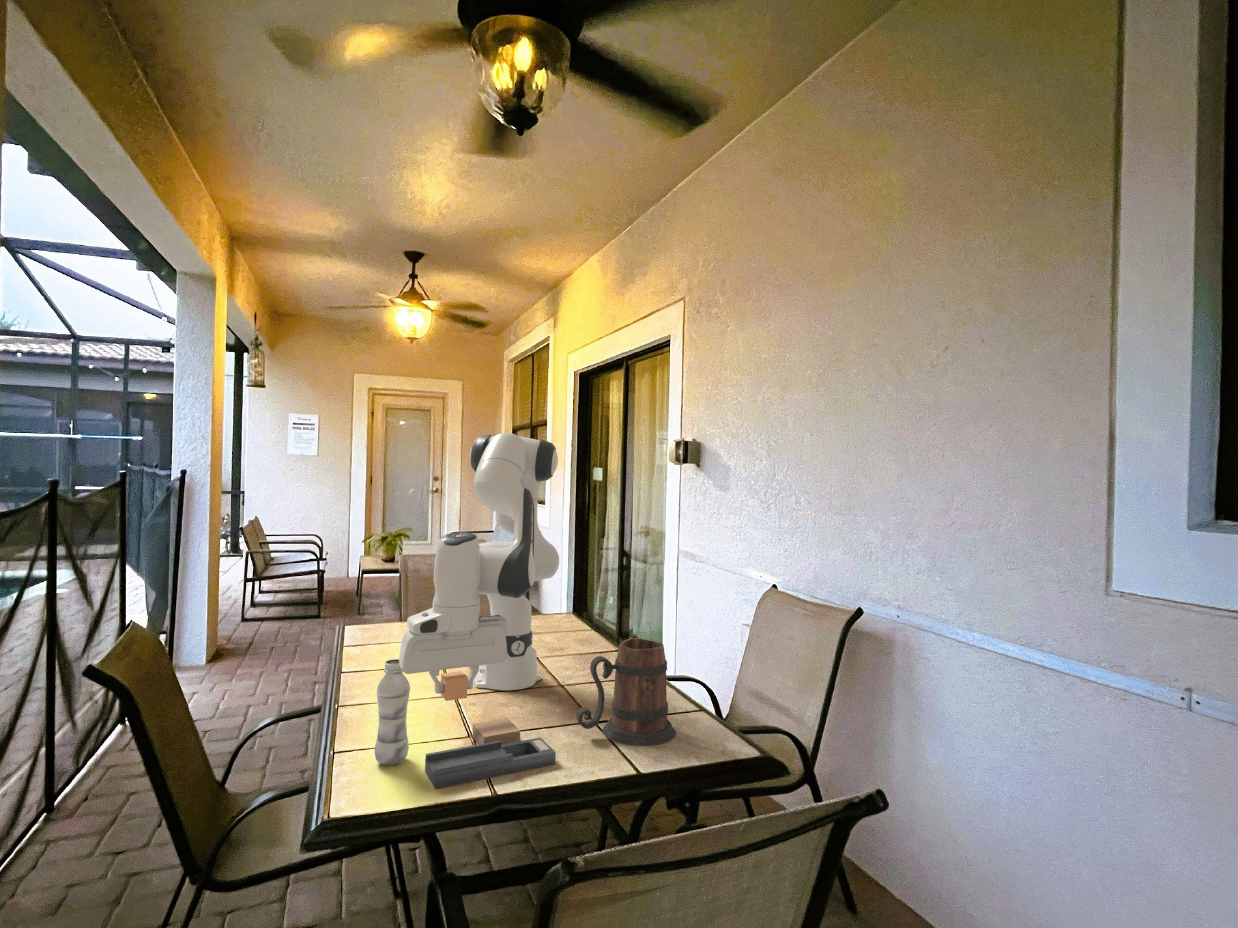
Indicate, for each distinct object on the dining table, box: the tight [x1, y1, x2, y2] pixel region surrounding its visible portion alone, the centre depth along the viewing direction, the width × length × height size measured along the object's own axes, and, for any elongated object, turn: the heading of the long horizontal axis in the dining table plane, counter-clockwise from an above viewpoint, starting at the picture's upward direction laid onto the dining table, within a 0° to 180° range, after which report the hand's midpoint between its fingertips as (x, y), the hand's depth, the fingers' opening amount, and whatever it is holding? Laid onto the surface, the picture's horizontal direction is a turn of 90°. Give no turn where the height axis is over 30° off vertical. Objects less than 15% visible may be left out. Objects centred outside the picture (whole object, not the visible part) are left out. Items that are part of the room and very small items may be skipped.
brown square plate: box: [472, 717, 521, 745], centre depth 143 cm, size 8×8×3 cm
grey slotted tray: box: [424, 737, 557, 790], centre depth 130 cm, size 8×24×4 cm, turn 119°
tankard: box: [575, 637, 677, 747], centre depth 150 cm, size 24×17×20 cm
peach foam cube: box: [440, 670, 468, 702], centre depth 126 cm, size 4×4×4 cm
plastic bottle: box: [374, 658, 411, 766], centre depth 132 cm, size 6×7×20 cm
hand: (453, 690), depth 126 cm, fingers closed on peach foam cube, 4 cm apart
